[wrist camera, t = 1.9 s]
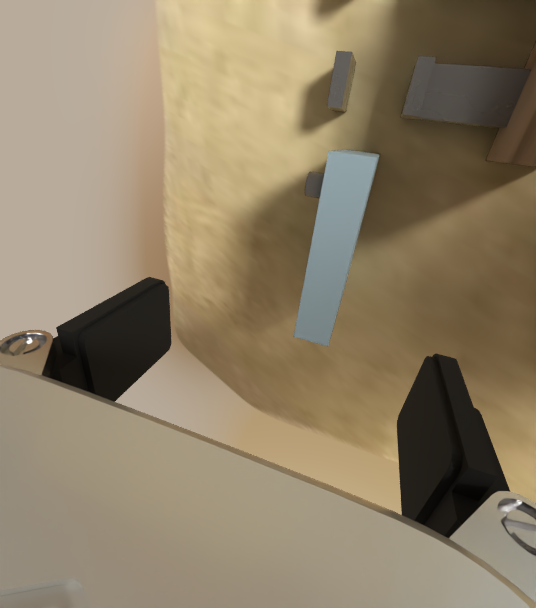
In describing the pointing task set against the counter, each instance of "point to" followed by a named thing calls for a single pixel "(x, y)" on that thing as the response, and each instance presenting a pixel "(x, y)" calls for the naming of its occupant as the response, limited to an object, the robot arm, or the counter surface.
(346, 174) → the block
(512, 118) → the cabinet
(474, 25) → the counter surface
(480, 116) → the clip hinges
